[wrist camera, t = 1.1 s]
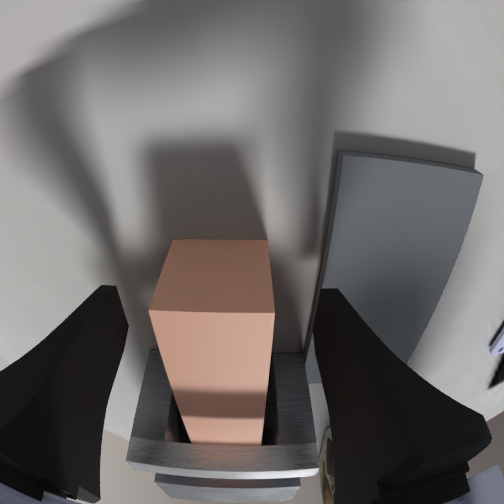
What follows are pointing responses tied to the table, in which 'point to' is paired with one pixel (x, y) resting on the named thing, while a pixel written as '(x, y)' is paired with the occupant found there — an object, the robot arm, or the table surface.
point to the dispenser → (227, 457)
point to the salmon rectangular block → (217, 336)
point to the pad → (393, 242)
